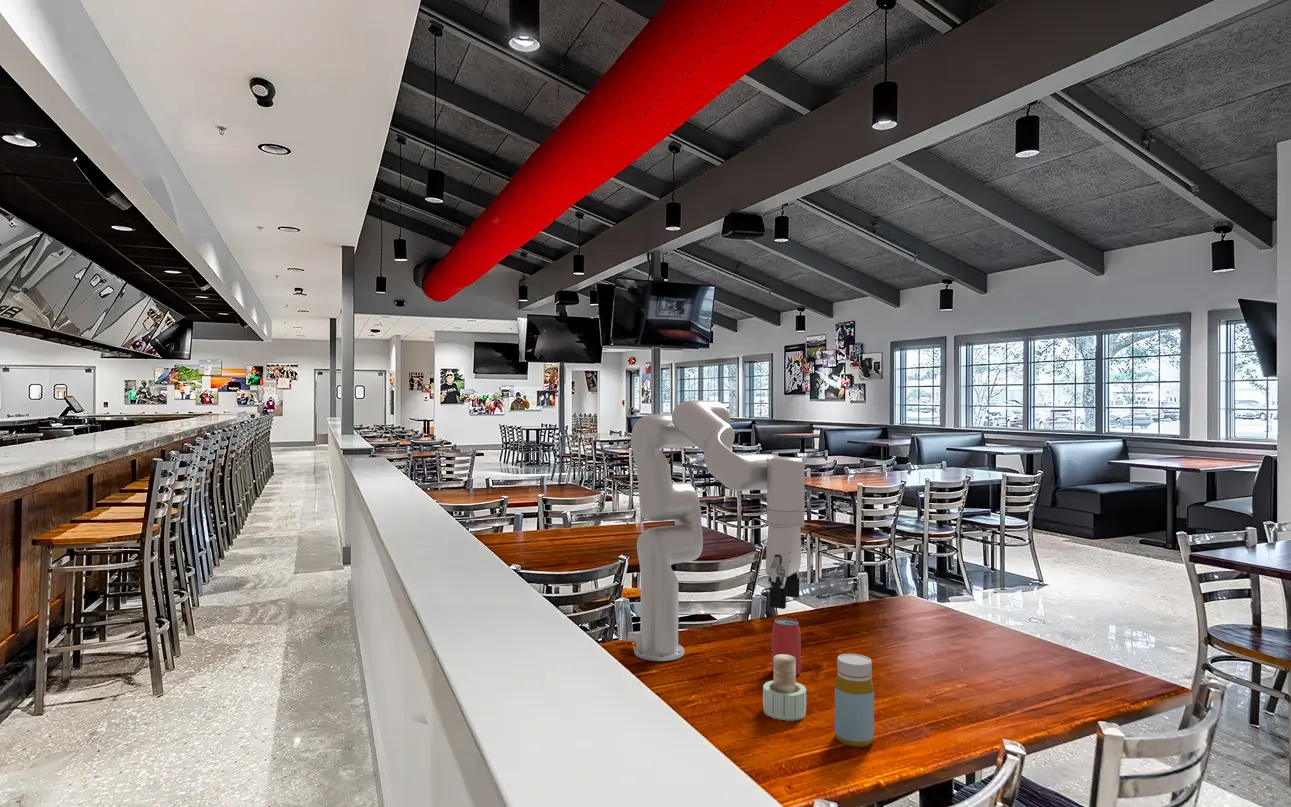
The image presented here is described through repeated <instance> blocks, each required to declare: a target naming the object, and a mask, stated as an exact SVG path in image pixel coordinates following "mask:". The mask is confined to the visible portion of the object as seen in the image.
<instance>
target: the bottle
mask: <svg viewBox="0 0 1291 807" xmlns="http://www.w3.org/2000/svg"><path fill="white" fill-rule="evenodd" d="M872 663H873V660H872V659H871V658H870V657H868V656H866V655H862V654H858V653H843V654H840V655H838V656H837V661H836V666H837V667H836V668H837V676H836V678H835V681H834V736H835V738H836V739H837V740H838V741H839V743H841V744H843V745H845V746H848V747H852V748H864V747H868V746H870V745H871V744H872V743H873V742H874V736H875V734H874V733H875V732H874V731H875V689H874V688H875V687H874V686H875V685H874V681H873V680H872V678H873V677H872V675H873V674H872V670H873V668H872V667H873V664H872Z"/></svg>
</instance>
